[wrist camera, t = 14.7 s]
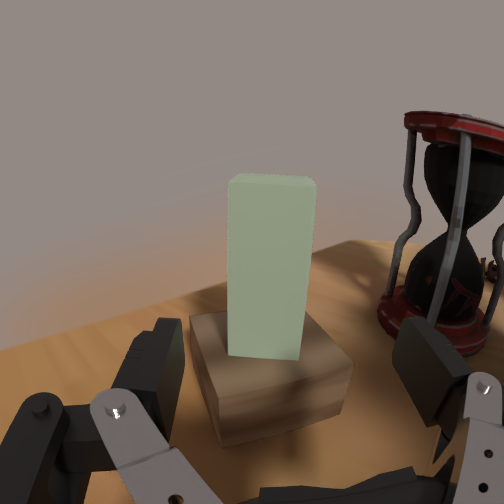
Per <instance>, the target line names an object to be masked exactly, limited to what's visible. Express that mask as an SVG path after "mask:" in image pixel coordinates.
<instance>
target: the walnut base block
mask: <svg viewBox="0 0 504 504" xmlns="http://www.w3.org/2000/svg"><path fill="white" fill-rule="evenodd" d="M189 319H190V332H191V344H192V355H193V365H194V369H195V372H196V375H197V379H198V382H199V385H200V388H201V391H202V394H203V397H204V400H205V403H206V406H207V409H208V412H209V415H210V418H211V420H212V423H213V426H214V429H215V432H216V434H217V437H218V440H219V443H220V445H221V448H224V447H229V446H234V445H238V444H242V443H247V442H251V441H255V440H259V439H263V438H266V437H270V436H274V435H277V434H281V433H284V432H288V431H291V430H294V429H298V428H301V427H304V426H307V425H310V424H313V423H316V422H319V421H322V420H325V419H328V418H331V417H333V416H336V415H339V414H340V412H341V409H342V405H343V402H344V399H345V396H346V393H347V390H348V386H349V383H350V379H351V376H352V373H353V369H354V366H355V362H354V361H353V360H352V359H351V358H350V357H349V356H348V355H347V354H346V353H345V352H344V351H343V350H342V349H341V348H340V347H339V346H338V345H337V344H336V343H335V342H334V340H333V339H332V338H331V337H330V336H329V335H328V334H327V333H326V332H325V331H324V330H323V329H322V328H321V327H320V326H319V325H318V324H317V323H316V322H315V321H314V320H313V319H312V318H311V316H310V315H309V314H308V313H307V312H306V311H305V316H304V324H303V332H302V339H301V346H300V353H299V360H298V361H296V360H279V359H264V358H251V357H240V356H230V355H228V311H223V312H215V313H208V314H200V315H192V316H189Z"/></svg>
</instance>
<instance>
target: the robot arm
mask: <svg viewBox="0 0 504 504" xmlns="http://www.w3.org/2000/svg"><path fill="white" fill-rule="evenodd" d="M392 362H393V366H394V368H395V370H396V372H397V373H398V375H399V377H400V379H401V381H402V382H403V384H404V386H405V388H406V390H407V391H408V393H409V395H410V397H411V399H412V401H413V402H414V404H415V406H416V408H417V410H418V412H419V414H420V415H421V417H422V419H423V421H424V423H425V425H426V427H430V426H434V425H438V424H439V425H440V427H441V428H440V429H439V431H438V432H437V435H436V439H435V442H434V446H433V449H432V453H431V456H430V459H429V463H428V466H427V469H426V471H425V474H424V476H419V475H416V474H415V472H414V470H413V467H412V466H411V467H407V468H403V469H399V470H395V471H391V472H387V473H382V474H379V475H376V476H374V477H372V478H370V479H368V480H365V481H363V482H361V483H358V484H356V485H354V486H351V487H349V488H346V489H332V488H320V487H310V486H302V485H301V486H287V487H264V488H260V493H259V497H258V498H253V499H250V500H247V501H244V502H241V503H239V504H504V385H501V384H500V382H499V381H498V380H497V379H496V378H495V377H494V376H492V375H490V374H488V373H485V372H474V371H473V369H472V368H471V367H470V366H469V364H468V363H467V362H466V361H465V359H464V358H463V357H462V356H461V354H460V353H459V352H457V350H456V348H455V347H454V346H453V345H451V342H450V341H449V340H448V339H447V338H446V336H445V335H443V334H442V333H440V332H439V331H437V330H436V329H434V328H433V327H432V326H431V325H430V323H429V322H428V321H427V320H426V319H425V318H424V317H410V318H404V319H403V321H402V323H401V326H400V330H399V333H398V336H397V339H396V343H395V346H394V349H393V353H392ZM184 367H185V353H184V343H183V333H182V323H181V319H178V318H160V317H159V318H158V320H157V322H156V324H155V327H154V329H153V331H143V332H141V333H140V334H139V335H138V336H137V337H135V338H134V339H133V342H132V344H131V346H130V348H129V351H128V352H127V354H126V356H125V359H124V361H123V363H122V365H121V367H120V369H119V371H118V374H117V376H116V378H115V380H114V382H113V385H112V387H111V389H108V390H105V391H102V392H101V393H99V394H98V395H96V396H95V397H94V398H93V400H92V402H91V404H86V405H72V406H63V404H62V402H61V400H60V399H59V398H58V397H57V396H56V395H54V394H52V393H47V392H42V393H37V394H34V395H31V396H30V397H28V398H27V399H26V400H25V401H24V402H23V403H22V405H21V407H20V409H19V410H18V412H17V414H16V416H15V418H14V420H13V422H12V423H11V425H10V427H9V429H8V431H7V433H6V435H5V437H4V439H3V441H2V443H1V445H0V504H84V499H85V495H86V491H87V487H88V483H89V480H90V476H91V472H96V471H113V470H117V471H118V473H119V475H120V476H121V478H122V480H123V482H124V484H125V485H126V487H127V489H128V491H129V492H130V494H131V496H132V497H133V499H134V501H135V502H136V504H224V503H223V502H222V501H221V500H220V499H219V498H218V497H217V496H216V494H215V493H214V492H213V491H212V490H211V489H210V488H209V486H208V485H207V484H206V483H205V482H204V481H203V479H202V478H201V477H200V476H199V474H198V473H197V472H196V471H195V470H194V468H193V467H192V466H191V465H190V463H189V462H188V461H187V459H186V458H185V457H184V456H183V454H182V453H181V452H180V451H179V450H178V449H177V448H176V447H175V446H173V447H171V446H170V445H169V444H168V443H169V440H170V435H171V430H172V425H173V420H174V415H175V410H176V406H177V401H178V396H179V392H180V387H181V382H182V378H183V373H184Z"/></svg>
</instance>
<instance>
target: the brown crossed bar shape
mask: <svg viewBox="0 0 504 504" xmlns="http://www.w3.org/2000/svg"><path fill="white" fill-rule="evenodd" d="M485 260H486V258H481V264H480V266H481V269H482V272H483V279H484V276H485V275H486V276H487V278H488V280H489V281H491V282H496V279H497V266H496V265H494V264H493V263H494V260H493V261H491V262H489V264H488V271H487V272H486V271H485Z"/></svg>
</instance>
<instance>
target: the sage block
mask: <svg viewBox="0 0 504 504" xmlns="http://www.w3.org/2000/svg"><path fill="white" fill-rule="evenodd" d="M316 197H317V186H316V185H315V183H314V182H313V180H312V179H311V178H310V177H304V176H289V175H270V174H249V173H240V174H238V175H237V176H236V177H234V178H233V179H232V180H230V181H229V182H228V239H227V240H228V242H227V244H228V245H227V248H228V249H227V259H228V260H227V311H228V355H230V356H240V357H251V358H264V359H279V360H296V361H298V360H299V353H300V346H301V339H302V332H303V324H304V316H305V308H306V300H307V292H308V283H309V274H310V264H311V255H312V243H313V234H314V222H315V221H314V220H315V210H316Z"/></svg>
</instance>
